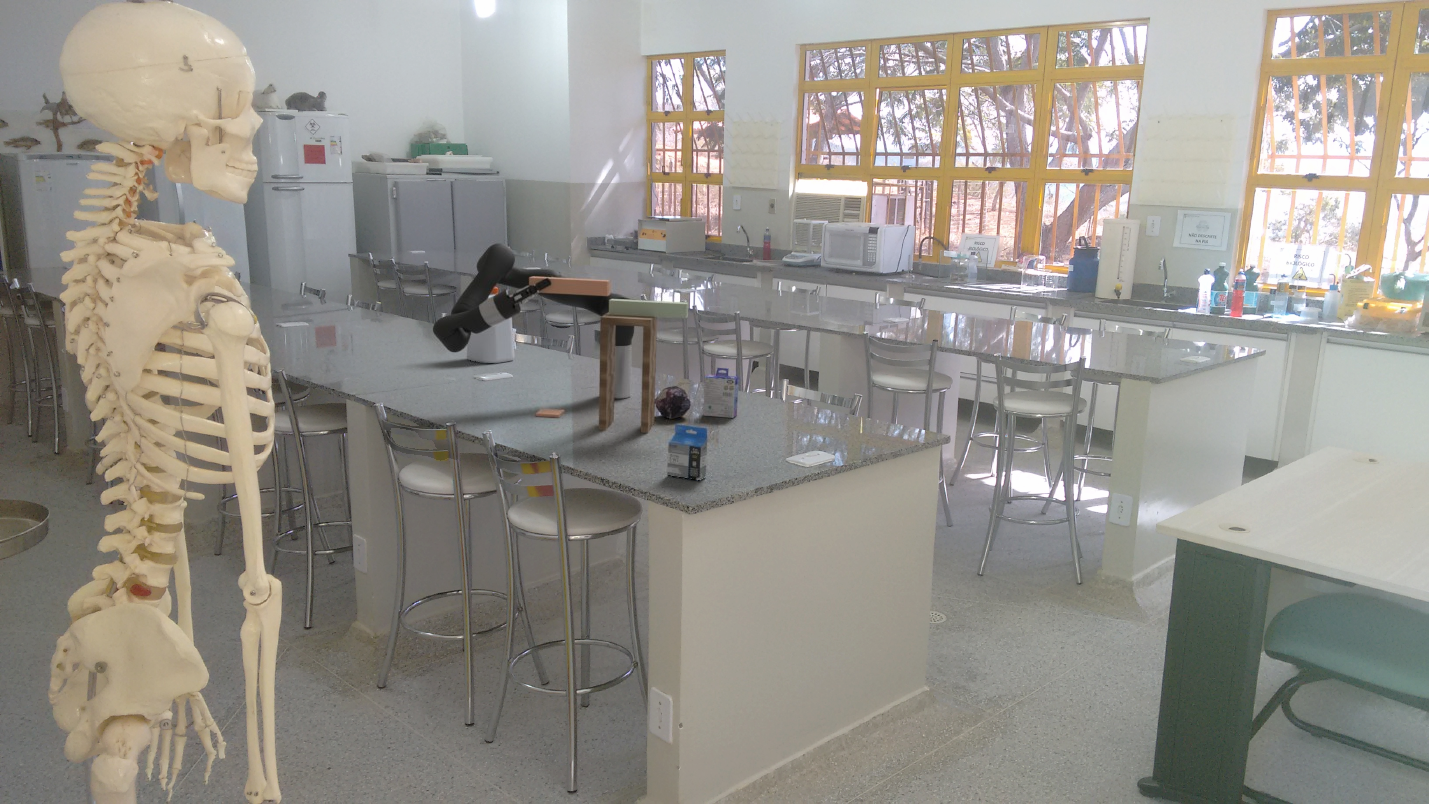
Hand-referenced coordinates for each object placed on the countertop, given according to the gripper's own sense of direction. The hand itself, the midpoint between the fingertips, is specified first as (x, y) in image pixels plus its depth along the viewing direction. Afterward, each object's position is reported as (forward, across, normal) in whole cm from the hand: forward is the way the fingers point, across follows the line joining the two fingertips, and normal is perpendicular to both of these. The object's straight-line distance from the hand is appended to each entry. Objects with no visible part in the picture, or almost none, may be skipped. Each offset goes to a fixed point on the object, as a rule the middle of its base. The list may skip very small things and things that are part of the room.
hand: (551, 280), depth 288 cm
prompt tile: (-23, +13, +34) cm, 43 cm away
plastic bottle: (-63, +99, +12) cm, 118 cm away
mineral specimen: (+8, +19, +52) cm, 56 cm away
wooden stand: (-2, +3, +46) cm, 47 cm away
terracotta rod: (+3, 0, +6) cm, 6 cm away
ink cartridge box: (+20, +25, +59) cm, 67 cm away
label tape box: (+18, -45, +58) cm, 76 cm away
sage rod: (+18, +6, +21) cm, 29 cm away
